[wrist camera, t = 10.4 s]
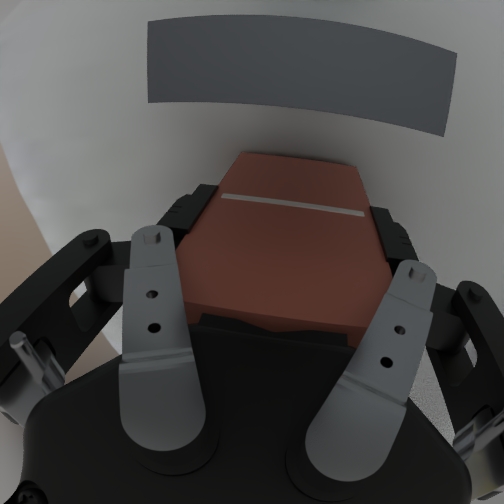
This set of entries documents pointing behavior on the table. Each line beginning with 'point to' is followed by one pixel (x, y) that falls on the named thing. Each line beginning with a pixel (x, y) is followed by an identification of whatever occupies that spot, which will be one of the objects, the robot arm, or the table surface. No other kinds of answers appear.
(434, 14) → the table surface
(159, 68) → the black domino
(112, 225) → the table surface
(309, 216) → the red domino
